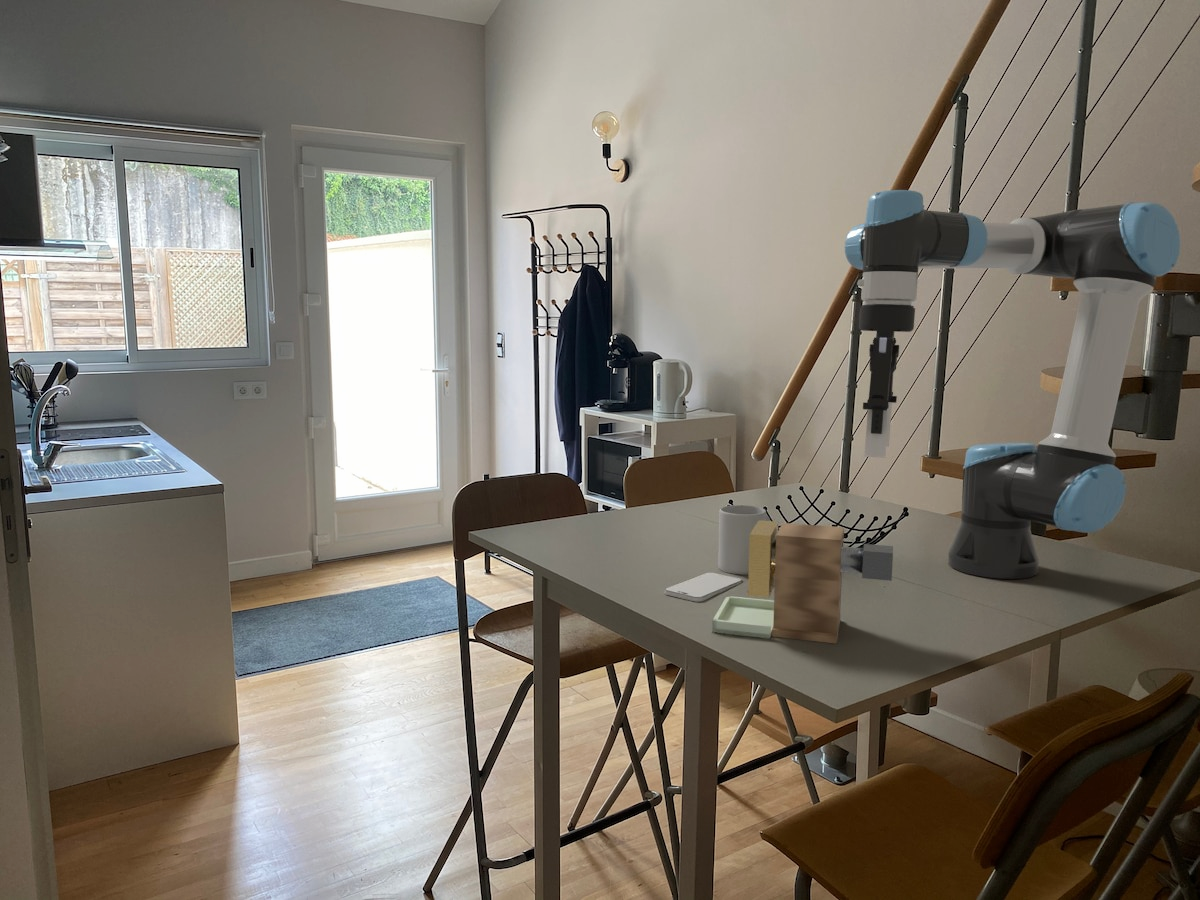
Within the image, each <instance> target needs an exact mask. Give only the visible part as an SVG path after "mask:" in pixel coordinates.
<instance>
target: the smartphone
mask: <svg viewBox="0 0 1200 900" xmlns="http://www.w3.org/2000/svg"><path fill="white" fill-rule="evenodd" d="M742 582H743V579H742V578H738V577H734V576H731V575H730V576H729V575H724V574H721V573H716V572H704V573H703V574H702V573H701V574H700V575H698V576H694V577H692V578H690V579H687V580H684V581H682V582H679V583H676V584H673V585H671V586H668V587H666V588H664V594H665V595H667V596H669V597H674V598H678V599H683V600H686V601H691V602H694V603H695V602H696V603H697V602H698V603H700V602H704V601H706V600H708V599H710V598H712V597H714V596H716V595H719V594H720V593H723V592H725V591H727V590H729V589H731V588H733V587H735V586H737V585H739V584H742Z"/></svg>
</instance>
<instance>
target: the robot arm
mask: <svg viewBox="0 0 1200 900" xmlns="http://www.w3.org/2000/svg"><path fill="white" fill-rule="evenodd" d="M867 202H868V203H867V206H866V212H865V213H866V215H865V221H864V223H859V224H857V225H855V226H854V227H853V228H852V229H851V230H849V232H848V233H847V236H846V239H845V241H844V254H845V257H846V260H847V262H848V263H849V264H850V265H851V266H852V268H854V269H857V270H861V271H862V277H863V279H858V281H857V283H856V285H857V286H858V287H862V288H861V291H860V292H861V296H860V300H861V301H863V302H865V304H861V306H860V307H859V316H858V317H859V319H858V329H859V330H860V331H864V332H865V331H866V332H868V331H869V332H876V336H875V337H874V338H873V339H872V343H871V344H870V343H869V349H868V350H869V351H868V352H869V357H870V358H869V372H870V381H869V391H868V399H867V402H865V401H864V402H863V403H862V410H867V415H866V429H865V430H866V432H865V445H864V446H865V447H864V457H866V458H868V457H869V458H879V459H881V458H882V459H885V458H886V449H887V447H890V437H891V436H890V434H891V421H892V409H893V403H894V404H896V403H897V399H898V397H897V395H894V391H893V382H894V372H895V371H896V369H897V365H898V363H897V362H898V357H899V354H900V344H896V343H897V340H896V337H895V332H899V333H900V332H901V333H905V332H906V333H911V332H912V331H914V327H915V318H916V317H915V315H916V314H915V313H916V308H915V306H914V305H912V303H914V302H915V301H916V300H917V296H918V295H917V293H918V280H919V269H924V270H925V269H1005V270H1006V271H1007V272H1009V273H1012V274H1016V275H1033V276H1041V277H1042V276H1043V277H1050V278H1057V279H1058V278H1060V279H1073V286H1074V287H1075V288H1076V290H1077V291H1078V292H1079V293H1080V298H1079V303H1078V307H1077V308H1078V309H1077V312H1076V317H1075V321H1074V326H1073V329H1072V330H1073V331H1072V333H1071V334H1072V335H1071V340H1070V343H1069V349H1068V353H1067V358H1066V363H1065V366H1064V367H1065V368H1064V370H1063V371H1064V372H1063V376H1062V381H1061V386H1060V390H1059V394H1058V399H1057V404H1056V409H1055V413H1054V417H1053V422H1052V427H1051V432H1050V434H1049V435H1048V436H1047V437H1045V438H1044V439H1042V440H1040V441H1039V442H1038V445H1036V444H1035V443H1031V442H1009V443H1008V442H1004V443H987V444H986V443H984V444H983V443H982V444H976V445H972V446H970V447H969V448H968V449H967V450H966V452H965V459H964V465H963V467H962V469H963V470H962V471H963V473H962V475H963V476H962V492H961V493H962V496H961V497H962V498H961V515H960V524H959V527H958V528H957V531H956V534H955V536H954V539H953V542H952V543H951V545H950V549H949V551H948V559H947V560H948V565H949V566H950V567H951V568H953V569H955V570H957V571H959V572H962V573H964V574H969V575H974V576H976V577H977V576H978V577H984V578H991V579H992V578H993V579H1002V580H1004V579H1006V580H1008V579H1010V580H1012V579H1015V580H1016V579H1018V580H1019V579H1027V578H1028V579H1029V578H1031V577H1034V575H1035V576H1037V575H1038V573H1039V557H1038V553H1037V549H1036V546H1035V543H1034V538H1033V535H1032V531H1031V527H1032V526H1031V524H1032V523H1031V522H1034V523H1039V524H1042V525H1047V526H1051V527H1054V528H1058V529H1060V530H1061V531H1062V530H1063V531H1071V532H1077V533H1078V532H1079V533H1086V534H1088V533H1089V534H1090V533H1094V532H1098V531H1100V530H1102V529H1103V528H1105V527H1106V526H1107V524H1110V523H1111V521H1113V520H1114V519H1115V517H1117V514H1118V513H1119V511H1120V510H1121V508H1122V505H1123V503H1124V500H1125V497H1126V493H1127V492H1126V489H1127V484H1126V482H1124V481H1125V480H1126V478H1125V475H1124V473H1123V471H1122V470H1120V468H1118V467H1117V466H1115V464H1116V460H1117V459H1116V458H1117V455H1116V453H1115V452H1114V450H1113V449H1112V448H1111V447H1110V445H1109V441H1110V436H1111V432H1112V428H1113V427H1112V426H1113V423H1114V418H1115V415H1116V410H1117V405H1118V400H1119V395H1120V391H1121V386H1122V382H1123V379H1124V373H1125V369H1126V364H1127V360H1128V355H1129V351H1130V346H1131V341H1132V338H1133V334H1134V329H1135V325H1136V320H1137V315H1138V314H1137V313H1138V311H1139V306H1140V302H1141V301H1142V299H1143V298H1145V297H1146V296H1147V295H1149V294H1151V293H1152V292H1153V291H1154V289H1155V284H1156V279H1157V277H1162V276H1164V275H1167V274H1168V273H1170V272H1171V271H1172V269H1173V268H1174V267H1175V266H1176V264H1177V262H1178V259H1179V256H1180V250H1181V235H1180V230H1179V227H1178V224H1177V223H1176V221H1175V217H1174V216H1173V214H1172V213H1171V211H1169V210H1168V209H1167V208H1166V207H1165V206H1163V205H1161V204H1159V203H1158V202H1157V203H1156V202H1149V201H1148V202H1131V201H1130V202H1127V203H1124V204H1117V205H1116V204H1115V205H1107V206H1101V207H1100V206H1098V207H1092V208H1091V207H1090V208H1084V209H1083V208H1082V209H1073V210H1067V211H1063V212H1057V213H1053V214H1049V215H1048V214H1047V215H1041V216H1036V217H1019V218H1015V219H1014V220H1011V222H1009V223H1006V222H1005V223H1003V222H984V221H983V220H982V219H981V218H979V217H978V216H975V215H971V214H967V213H964V212H958V213H957V212H950V211H949V212H948V211H947V212H946V211H936V210H928V209H925V205H924V196H923V194H922V193H921V192H919V191H915V190H911V189H910V190H908V189H894V190H882V191H879V192H875V193H873V194H871V196H870V197H869V199H868V201H867Z"/></svg>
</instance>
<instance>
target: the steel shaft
mask: <svg viewBox="0 0 1200 900" xmlns="http://www.w3.org/2000/svg"><path fill="white" fill-rule="evenodd" d="M775 557H776V541H774V543H773V545H772V565H771V566H775ZM893 557H894V546H893V545H881V544H870V543H869V544H868V543H863V547H854V546H853V547H850V546H843V547H841V568H840V571H841V572H842V573H854V574H855V573H856V574H862V575H861V578H862V579H867V580H881V581H892V580H893V578H892V577H893V562H894V561H893Z"/></svg>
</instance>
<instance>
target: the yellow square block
mask: <svg viewBox="0 0 1200 900" xmlns="http://www.w3.org/2000/svg"><path fill="white" fill-rule="evenodd" d="M778 531H779V521H775V520H773V521H772V520H770V521H762V520H759V521H758V522H757V524H756V525H755V527H754V528H753V530H752V531H751V533H750V540H749V574H748V581H747V582H748V583H747V584H748V585H747V586H748V587H747V588H748V589H747V597H754V598H755V597H756V598H768V599H769V598H770V596H771V593H772V591H773V589H774V588H775V566H771V565H772V545H773V543H774V541H776V535H777V533H778Z"/></svg>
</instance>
